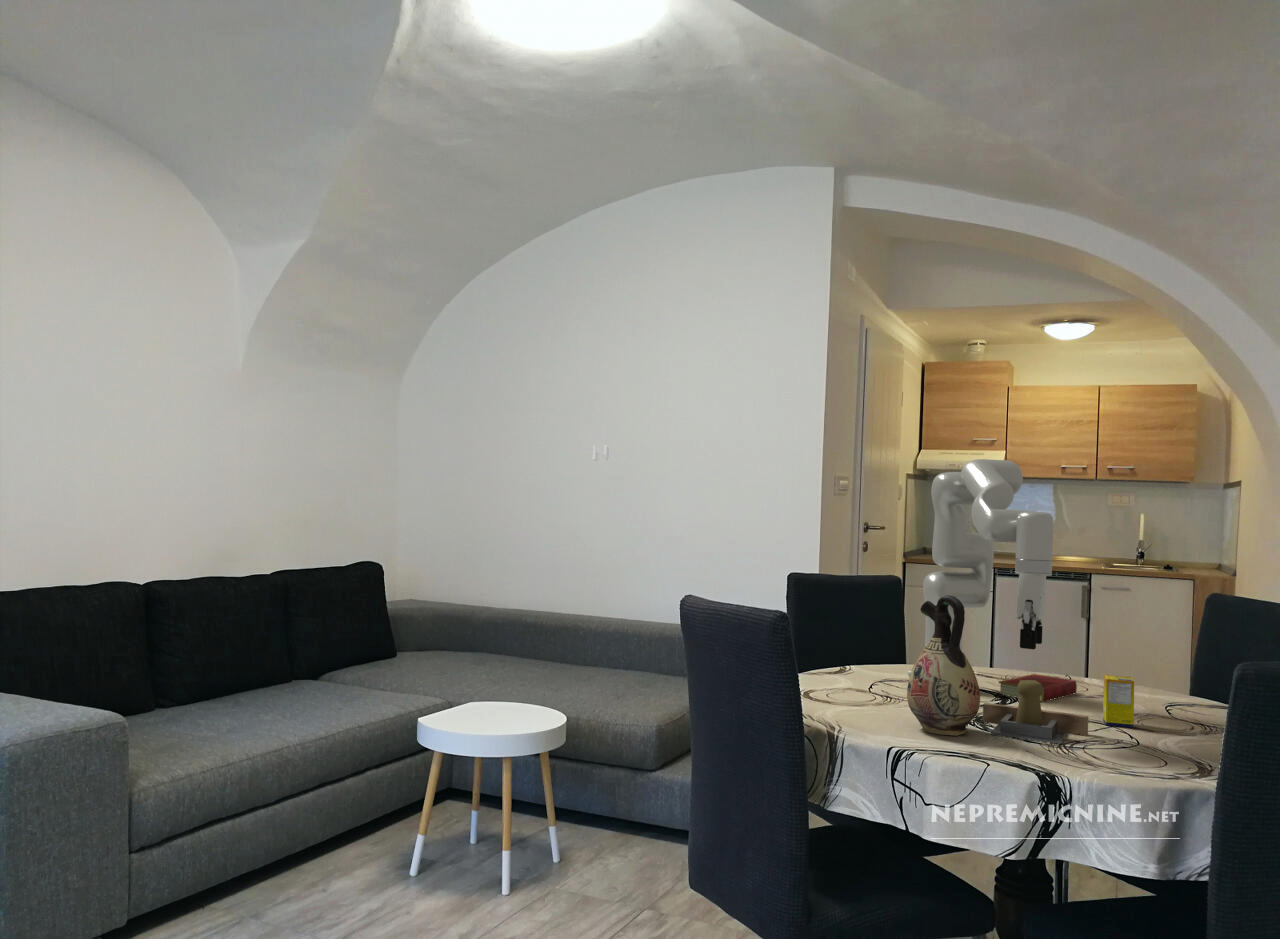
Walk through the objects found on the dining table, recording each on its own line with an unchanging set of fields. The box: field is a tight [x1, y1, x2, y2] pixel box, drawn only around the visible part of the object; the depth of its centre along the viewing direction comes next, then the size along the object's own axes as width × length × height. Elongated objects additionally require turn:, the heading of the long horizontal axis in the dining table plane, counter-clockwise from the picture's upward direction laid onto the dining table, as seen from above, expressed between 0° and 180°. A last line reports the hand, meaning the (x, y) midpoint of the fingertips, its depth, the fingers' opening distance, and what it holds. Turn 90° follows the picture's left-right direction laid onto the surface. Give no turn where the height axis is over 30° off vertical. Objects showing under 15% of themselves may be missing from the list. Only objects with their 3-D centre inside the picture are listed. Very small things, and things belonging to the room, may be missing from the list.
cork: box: [1016, 680, 1043, 725], centre depth 217 cm, size 6×6×11 cm
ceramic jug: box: [906, 595, 981, 737], centre depth 216 cm, size 17×15×30 cm
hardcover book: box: [998, 673, 1078, 703], centre depth 265 cm, size 12×21×4 cm, turn 134°
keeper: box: [990, 713, 1068, 745], centre depth 216 cm, size 14×12×3 cm
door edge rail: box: [982, 702, 1089, 736], centre depth 223 cm, size 22×2×4 cm, turn 61°
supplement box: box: [1102, 674, 1135, 729], centre depth 230 cm, size 6×6×11 cm
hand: (1031, 645), depth 217 cm, fingers open, 9 cm apart
